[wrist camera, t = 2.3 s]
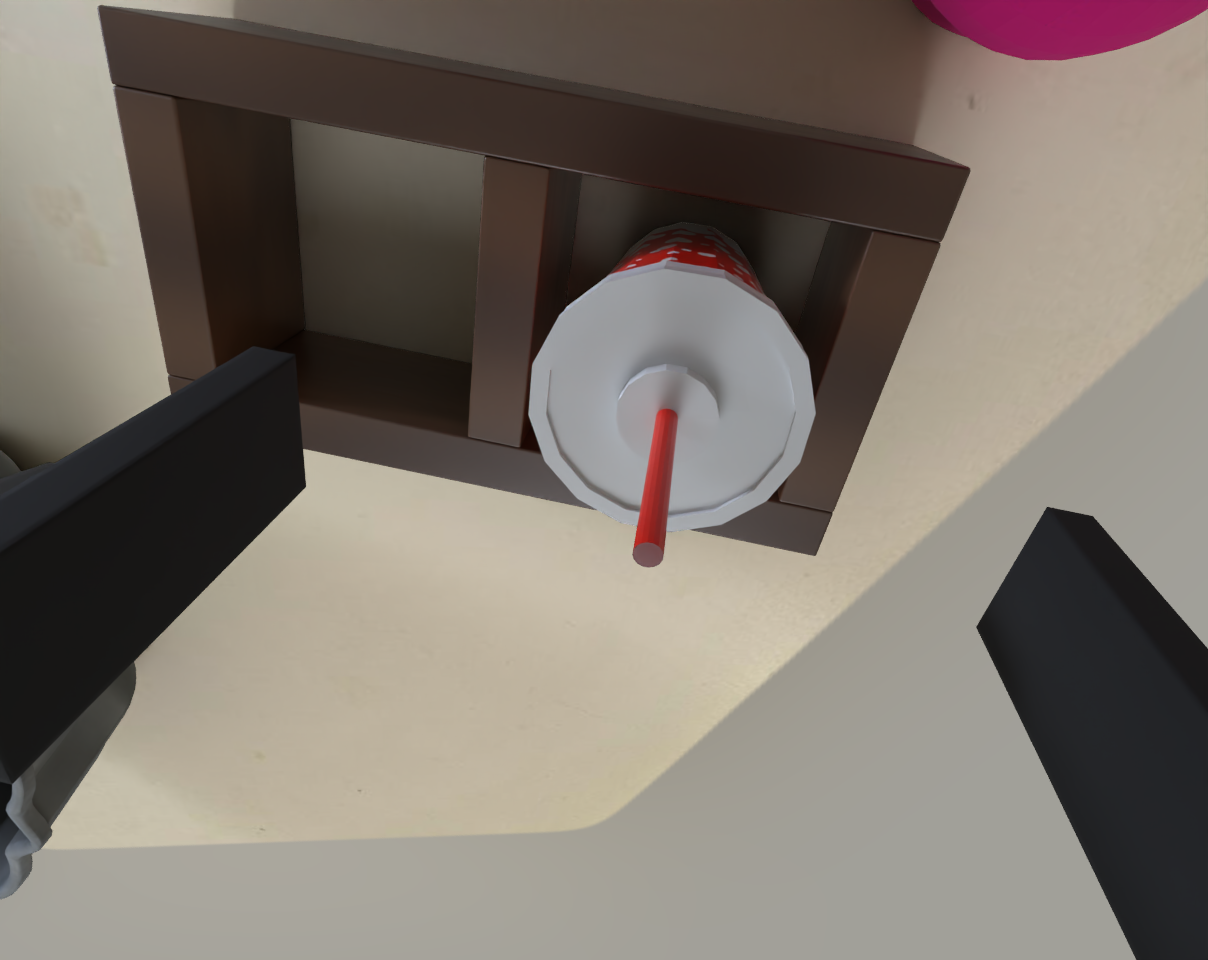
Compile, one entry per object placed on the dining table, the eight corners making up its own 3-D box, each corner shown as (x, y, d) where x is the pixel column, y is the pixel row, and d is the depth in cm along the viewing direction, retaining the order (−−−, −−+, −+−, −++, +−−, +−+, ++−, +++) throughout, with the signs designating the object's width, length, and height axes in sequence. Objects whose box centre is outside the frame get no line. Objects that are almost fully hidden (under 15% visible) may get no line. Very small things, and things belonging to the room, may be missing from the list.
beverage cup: (582, 200, 21) (415, 368, 9) (787, 189, 20) (887, 361, 9) (597, 385, 24) (485, 687, 13) (775, 383, 24) (837, 707, 12)
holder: (231, 18, 20) (94, 4, 16) (914, 145, 19) (972, 168, 15) (268, 362, 26) (175, 422, 21) (798, 470, 25) (816, 557, 21)
